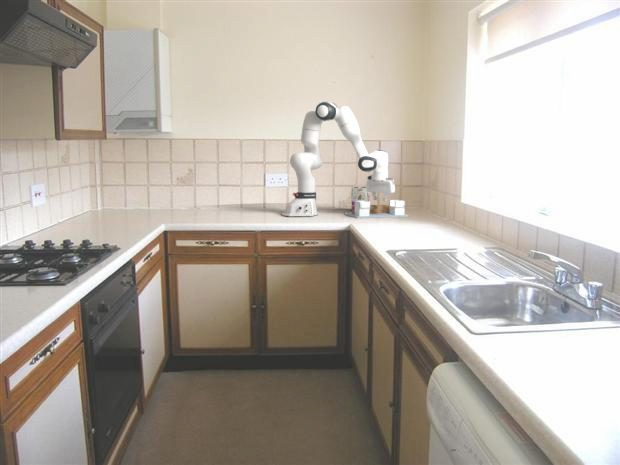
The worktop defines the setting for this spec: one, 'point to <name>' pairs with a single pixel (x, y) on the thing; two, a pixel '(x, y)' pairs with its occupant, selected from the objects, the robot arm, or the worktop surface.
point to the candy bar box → (359, 195)
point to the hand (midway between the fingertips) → (380, 200)
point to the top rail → (377, 209)
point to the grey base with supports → (364, 208)
